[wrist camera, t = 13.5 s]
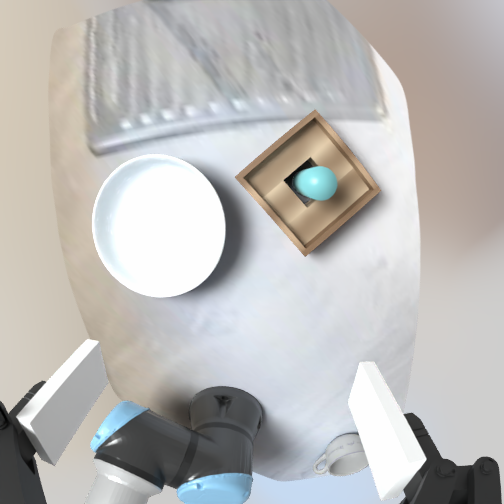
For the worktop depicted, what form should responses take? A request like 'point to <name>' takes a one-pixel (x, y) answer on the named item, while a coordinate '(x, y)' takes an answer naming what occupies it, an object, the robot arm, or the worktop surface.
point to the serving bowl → (159, 225)
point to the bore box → (314, 211)
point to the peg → (315, 183)
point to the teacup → (343, 456)
